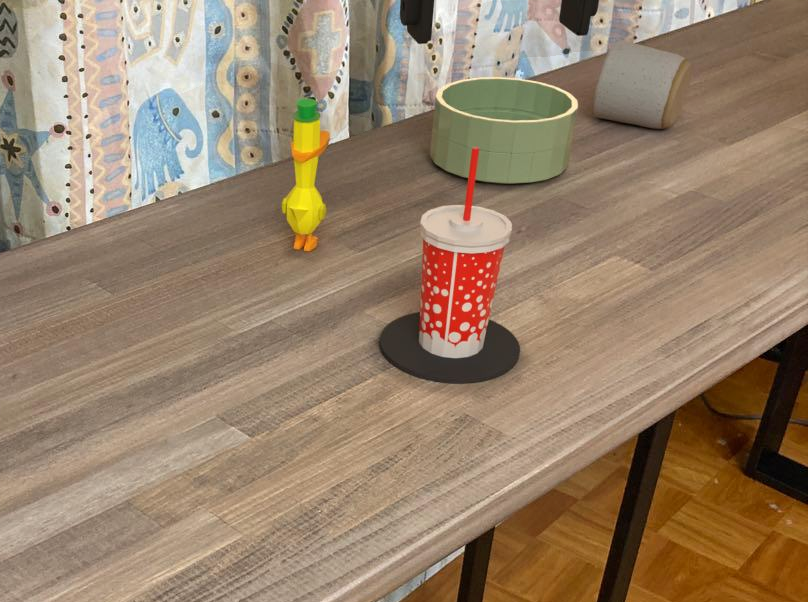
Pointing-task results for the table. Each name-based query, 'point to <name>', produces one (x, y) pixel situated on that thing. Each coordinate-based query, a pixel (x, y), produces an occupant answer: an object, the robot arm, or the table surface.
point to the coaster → (413, 359)
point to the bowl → (503, 129)
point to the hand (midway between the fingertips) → (496, 33)
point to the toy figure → (306, 175)
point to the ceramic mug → (642, 85)
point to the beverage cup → (460, 273)
